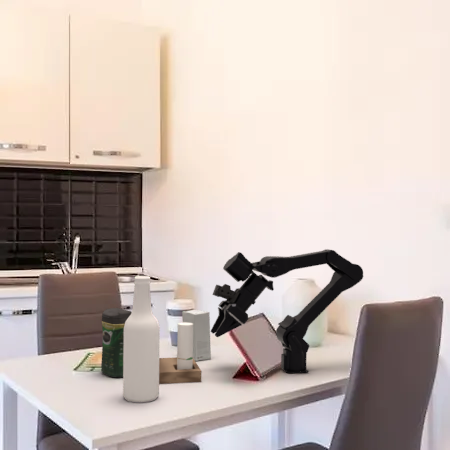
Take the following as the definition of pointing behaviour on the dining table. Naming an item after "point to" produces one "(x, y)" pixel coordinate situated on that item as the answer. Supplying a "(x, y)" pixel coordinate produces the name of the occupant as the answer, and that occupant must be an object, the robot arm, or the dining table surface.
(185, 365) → the tube
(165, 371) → the wooden block with hole
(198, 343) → the skincare box
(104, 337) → the coffee jar
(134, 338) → the alcohol
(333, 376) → the dining table surface
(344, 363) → the dining table surface
